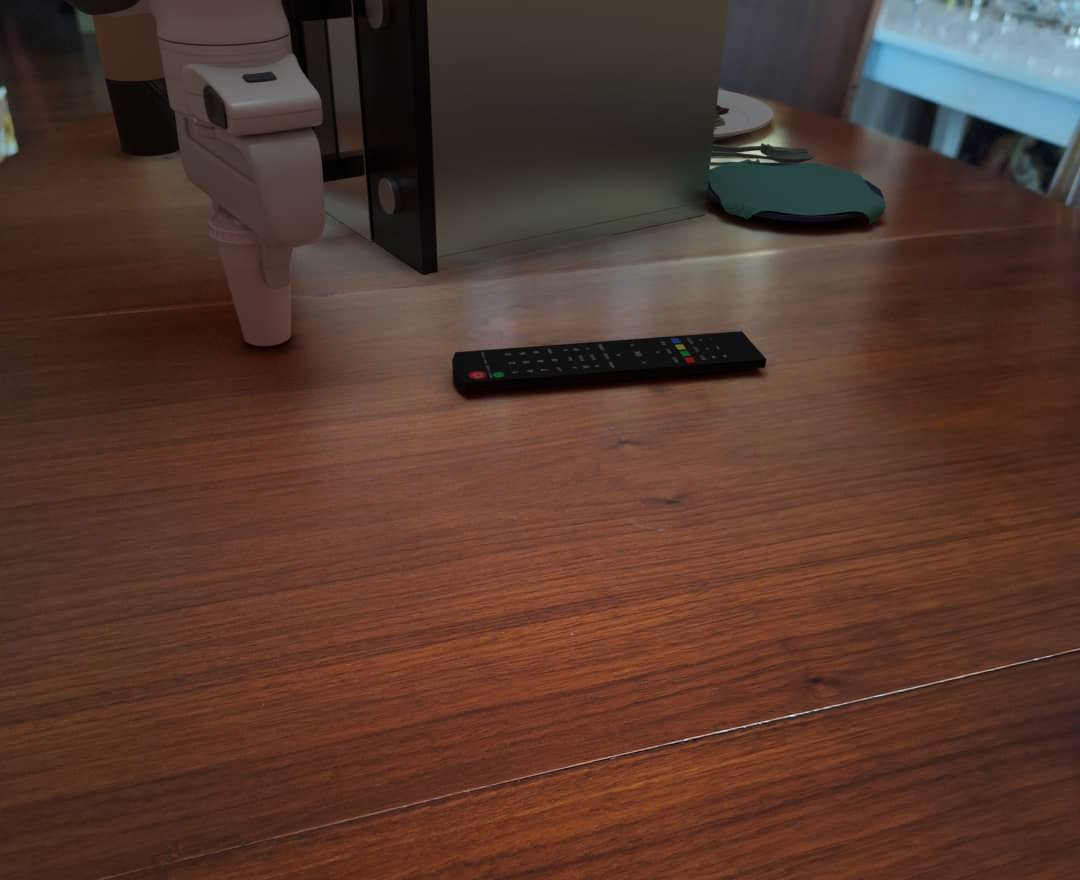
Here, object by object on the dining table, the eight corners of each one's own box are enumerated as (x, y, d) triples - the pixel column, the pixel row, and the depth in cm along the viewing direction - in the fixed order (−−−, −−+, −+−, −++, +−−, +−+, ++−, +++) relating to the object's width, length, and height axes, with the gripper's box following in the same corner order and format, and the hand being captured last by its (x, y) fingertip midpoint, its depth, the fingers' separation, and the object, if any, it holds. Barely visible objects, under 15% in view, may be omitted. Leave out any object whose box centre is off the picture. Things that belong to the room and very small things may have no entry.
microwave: (415, 278, 96) (396, -72, 80) (243, 162, 125) (203, -111, 109) (705, 214, 112) (738, -87, 96) (492, 125, 142) (490, -117, 126)
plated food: (774, 156, 131) (778, 129, 129) (541, 143, 135) (541, 115, 133) (769, 102, 156) (772, 78, 154) (571, 92, 159) (572, 68, 157)
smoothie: (249, 360, 80) (220, 177, 72) (213, 333, 84) (182, 156, 76) (322, 339, 84) (302, 161, 76) (284, 314, 88) (261, 142, 80)
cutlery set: (713, 234, 107) (716, 212, 106) (676, 154, 131) (678, 135, 130) (904, 236, 108) (909, 214, 106) (831, 156, 132) (835, 137, 131)
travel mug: (169, 137, 134) (136, -39, 122) (194, 150, 129) (163, -32, 117) (110, 147, 130) (71, -35, 118) (134, 161, 125) (96, -27, 113)
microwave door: (319, 252, 100) (283, -80, 84) (202, 166, 123) (156, -108, 107) (385, 239, 104) (362, -83, 88) (259, 158, 126) (223, -110, 110)
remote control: (764, 375, 81) (766, 359, 80) (458, 400, 76) (457, 383, 76) (739, 346, 85) (741, 331, 84) (448, 368, 81) (447, 352, 80)
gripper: (141, 56, 78) (175, 237, 86) (239, 115, 65) (268, 323, 73) (223, 49, 81) (248, 224, 89) (332, 103, 67) (351, 304, 75)
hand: (258, 269), depth 81 cm, fingers closed on smoothie, 6 cm apart
